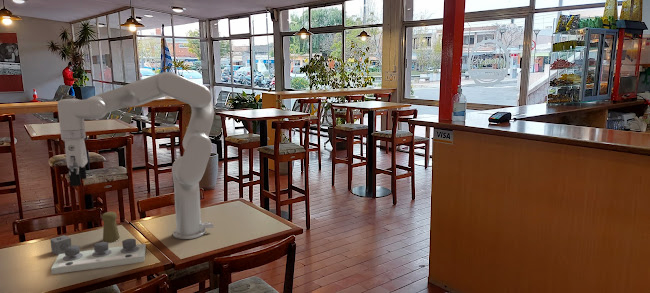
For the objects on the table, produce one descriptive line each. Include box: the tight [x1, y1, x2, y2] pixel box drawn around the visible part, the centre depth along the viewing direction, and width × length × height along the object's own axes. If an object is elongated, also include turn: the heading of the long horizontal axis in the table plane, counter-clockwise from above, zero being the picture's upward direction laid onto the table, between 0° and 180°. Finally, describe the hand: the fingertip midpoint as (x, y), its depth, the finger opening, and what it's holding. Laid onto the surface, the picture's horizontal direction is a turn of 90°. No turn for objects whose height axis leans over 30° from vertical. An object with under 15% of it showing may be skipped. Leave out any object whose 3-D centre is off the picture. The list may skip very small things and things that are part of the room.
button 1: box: [65, 244, 81, 256], centre depth 153 cm, size 4×4×2 cm
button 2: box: [121, 238, 137, 249], centre depth 159 cm, size 4×4×2 cm
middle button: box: [93, 241, 109, 252], centre depth 156 cm, size 4×4×2 cm
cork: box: [101, 211, 121, 243], centre depth 173 cm, size 6×6×11 cm
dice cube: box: [49, 234, 72, 256], centre depth 163 cm, size 5×5×5 cm
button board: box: [50, 243, 147, 275], centre depth 155 cm, size 28×12×2 cm, turn 109°
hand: (78, 182), depth 159 cm, fingers open, 9 cm apart
